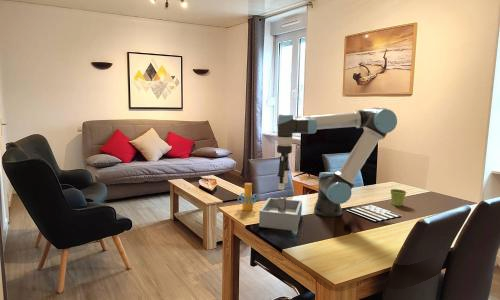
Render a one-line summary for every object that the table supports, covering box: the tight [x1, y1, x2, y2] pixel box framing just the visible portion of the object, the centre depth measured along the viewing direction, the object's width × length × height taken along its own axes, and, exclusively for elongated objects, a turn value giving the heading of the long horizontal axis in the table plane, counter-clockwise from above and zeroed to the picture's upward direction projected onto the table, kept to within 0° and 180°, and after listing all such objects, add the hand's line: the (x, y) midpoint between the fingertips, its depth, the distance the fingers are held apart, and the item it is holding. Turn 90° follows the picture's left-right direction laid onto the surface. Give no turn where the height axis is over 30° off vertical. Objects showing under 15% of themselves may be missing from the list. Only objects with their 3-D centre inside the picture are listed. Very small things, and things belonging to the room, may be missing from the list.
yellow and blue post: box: [237, 182, 259, 212], centre depth 204 cm, size 12×10×15 cm
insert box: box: [258, 197, 303, 232], centre depth 188 cm, size 18×24×8 cm
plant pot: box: [389, 188, 408, 207], centre depth 222 cm, size 9×9×9 cm
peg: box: [278, 196, 287, 213], centre depth 188 cm, size 4×4×12 cm
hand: (283, 186), depth 186 cm, fingers open, 13 cm apart
